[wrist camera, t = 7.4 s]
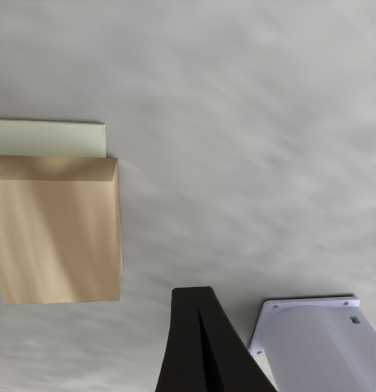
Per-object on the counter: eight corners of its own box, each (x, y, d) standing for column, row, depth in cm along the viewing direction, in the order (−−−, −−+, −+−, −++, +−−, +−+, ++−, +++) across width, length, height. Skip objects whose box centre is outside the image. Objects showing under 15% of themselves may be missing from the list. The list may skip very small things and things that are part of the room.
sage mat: (104, 123, 17) (103, 125, 16) (115, 284, 23) (114, 287, 23) (-51, 116, 15) (-54, 118, 15) (7, 287, 22) (5, 290, 22)
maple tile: (112, 181, 15) (-38, 179, 14) (119, 300, 19) (6, 305, 18) (117, 158, 17) (-10, 154, 16) (122, 268, 22) (23, 270, 21)
